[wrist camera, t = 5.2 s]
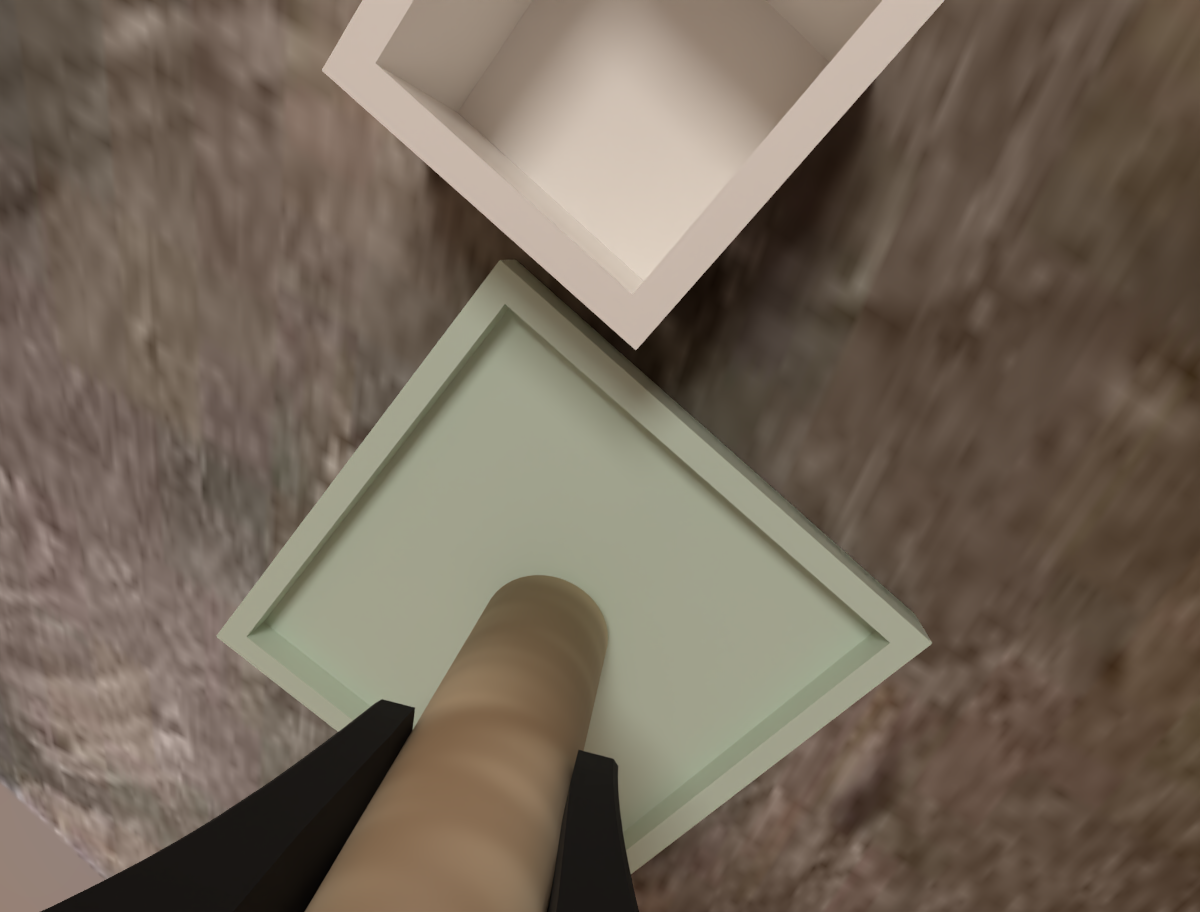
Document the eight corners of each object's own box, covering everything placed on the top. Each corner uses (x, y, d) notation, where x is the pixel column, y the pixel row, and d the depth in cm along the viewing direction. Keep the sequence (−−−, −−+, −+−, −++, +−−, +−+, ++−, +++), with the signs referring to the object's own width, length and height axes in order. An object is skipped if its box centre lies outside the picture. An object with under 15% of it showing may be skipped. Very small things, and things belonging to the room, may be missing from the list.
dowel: (617, 589, 15) (512, 1040, 6) (597, 698, 16) (481, 1219, 7) (489, 563, 15) (224, 961, 7) (477, 672, 16) (230, 1145, 8)
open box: (876, 68, 12) (958, -16, 8) (651, 324, 14) (635, 350, 10) (624, -180, 12) (590, -391, 8) (426, 121, 14) (322, 70, 10)
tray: (914, 613, 15) (932, 643, 14) (582, 877, 19) (575, 917, 18) (515, 259, 14) (499, 259, 13) (246, 612, 18) (216, 636, 17)
